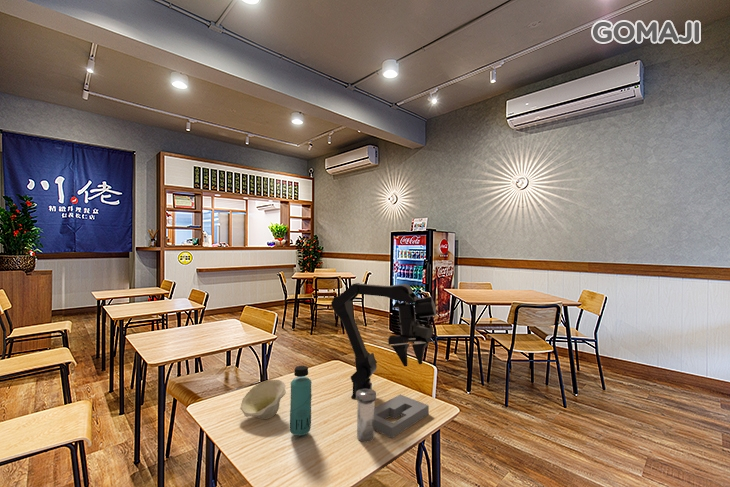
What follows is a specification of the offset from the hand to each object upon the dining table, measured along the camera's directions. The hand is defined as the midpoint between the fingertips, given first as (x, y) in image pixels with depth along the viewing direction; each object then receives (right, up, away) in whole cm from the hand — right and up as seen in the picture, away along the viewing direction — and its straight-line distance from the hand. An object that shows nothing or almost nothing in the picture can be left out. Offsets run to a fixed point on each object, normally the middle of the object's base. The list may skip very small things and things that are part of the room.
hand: (413, 365), depth 114 cm
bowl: (-50, -15, -5) cm, 53 cm away
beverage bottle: (-36, -15, -15) cm, 42 cm away
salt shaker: (-17, -15, -16) cm, 28 cm away
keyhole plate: (-6, -16, -5) cm, 18 cm away
